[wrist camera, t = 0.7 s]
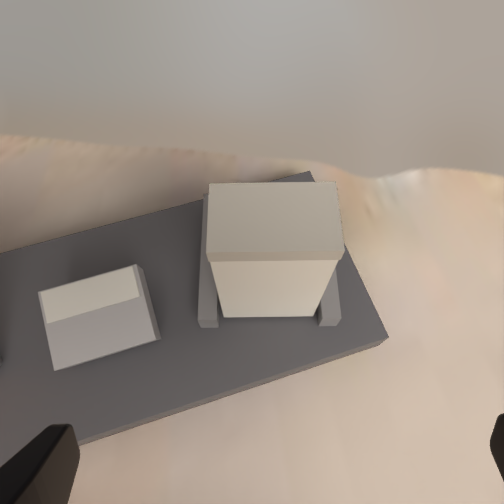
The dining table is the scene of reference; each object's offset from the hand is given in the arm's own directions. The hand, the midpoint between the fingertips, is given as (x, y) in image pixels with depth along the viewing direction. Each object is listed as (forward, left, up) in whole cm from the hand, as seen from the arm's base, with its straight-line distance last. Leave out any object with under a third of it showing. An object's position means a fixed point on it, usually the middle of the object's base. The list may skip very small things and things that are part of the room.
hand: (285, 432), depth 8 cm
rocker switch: (+7, +8, -12) cm, 17 cm away
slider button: (+8, -1, -12) cm, 15 cm away
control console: (+7, +8, -14) cm, 18 cm away
